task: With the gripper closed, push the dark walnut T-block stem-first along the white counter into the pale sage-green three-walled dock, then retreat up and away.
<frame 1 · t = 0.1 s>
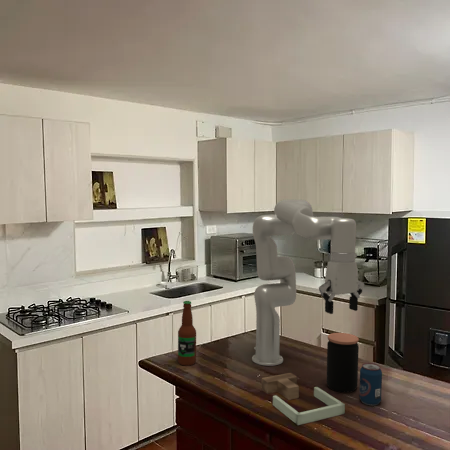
hand: (341, 311, 144), 31 cm above the counter, fingers open, 9 cm apart
coffee jar: (341, 387, 161), on the counter
dock: (307, 409, 144), on the counter
bottle: (187, 363, 183), on the counter
t block: (279, 388, 159), on the counter
soda can: (370, 402, 150), on the counter
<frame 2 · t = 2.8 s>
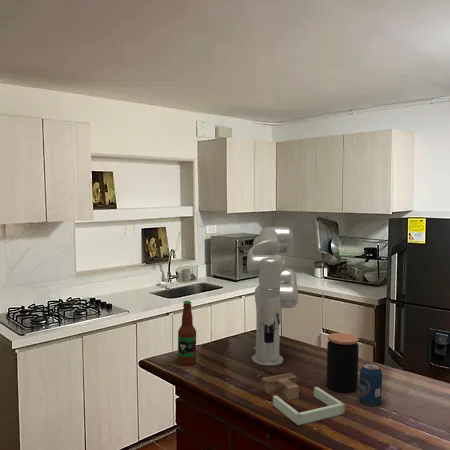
hand: (268, 342, 165), 14 cm above the counter, fingers closed
nothing on the counter moved.
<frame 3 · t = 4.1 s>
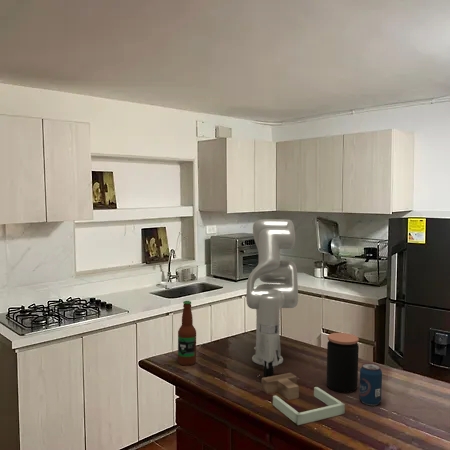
hand: (268, 377, 166), 1 cm above the counter, fingers closed
nothing on the counter moved.
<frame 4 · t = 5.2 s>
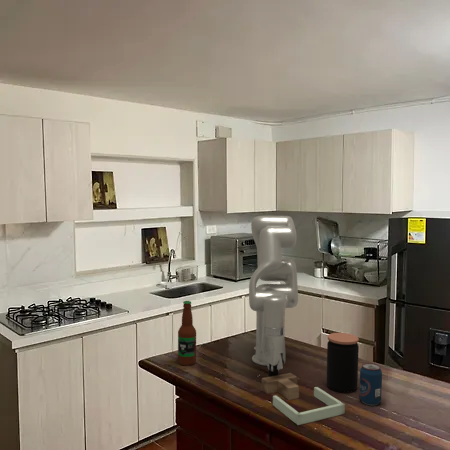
hand: (273, 380, 163), 1 cm above the counter, fingers closed
t block: (279, 388, 159), on the counter, touching gripper
everything else where it was.
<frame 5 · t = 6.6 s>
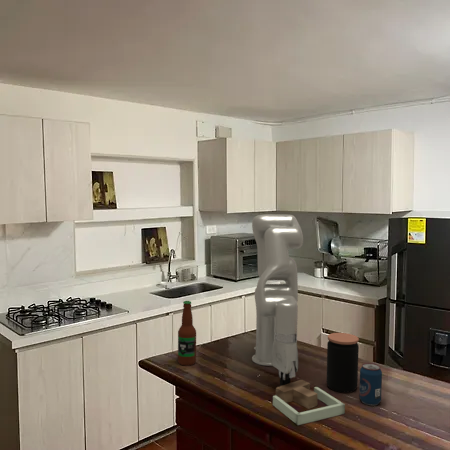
hand: (284, 389, 156), 1 cm above the counter, fingers closed
t block: (293, 397, 153), on the counter, touching gripper
everything else where it was.
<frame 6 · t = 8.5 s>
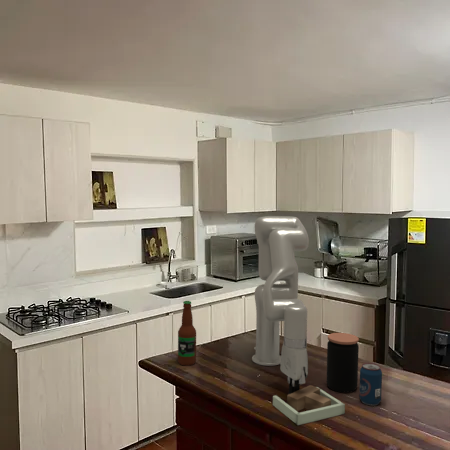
hand: (294, 395, 151), 1 cm above the counter, fingers closed
t block: (303, 403, 148), on the counter, touching gripper
everything else where it was.
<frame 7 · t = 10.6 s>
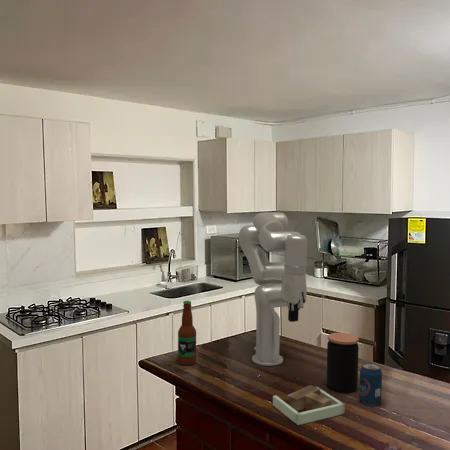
hand: (293, 320, 161), 23 cm above the counter, fingers closed
t block: (303, 404, 148), on the counter
everything else where it was.
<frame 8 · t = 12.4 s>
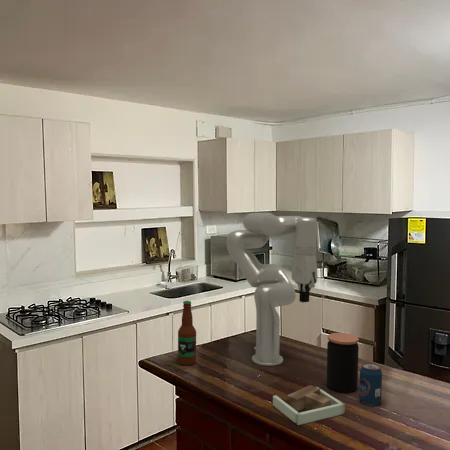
hand: (304, 301, 165), 29 cm above the counter, fingers closed
nothing on the counter moved.
at the end: t block 1.1 cm from the target spot, on the counter; t block moved 13.5 cm from its start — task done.
